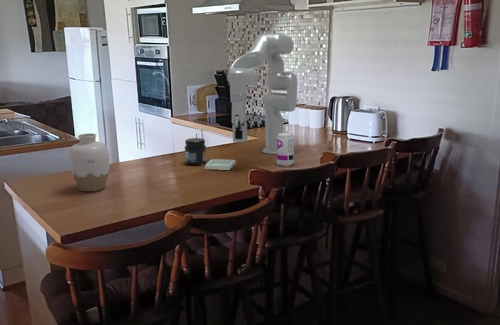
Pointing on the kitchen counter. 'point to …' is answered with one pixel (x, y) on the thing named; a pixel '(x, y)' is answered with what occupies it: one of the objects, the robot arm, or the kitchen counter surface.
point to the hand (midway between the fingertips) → (240, 137)
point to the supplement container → (195, 151)
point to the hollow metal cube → (244, 133)
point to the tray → (220, 164)
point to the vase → (89, 163)
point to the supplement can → (285, 149)
